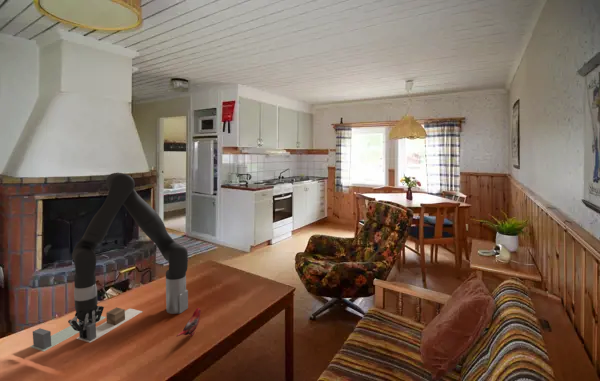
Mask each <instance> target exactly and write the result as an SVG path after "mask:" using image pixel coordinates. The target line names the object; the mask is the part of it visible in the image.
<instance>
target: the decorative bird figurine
mask: <svg viewBox="0 0 600 381" xmlns="http://www.w3.org/2000/svg"><path fill="white" fill-rule="evenodd" d="M201 311H202V310H201V308H199V307H197V308H196V309H195V310H194V311H193V313H192V316H191V317H190V319H189V320H188V321H187V323H186V325H185V326H184V328H183V330H182V331H181V332H179V333H178V334H177V335H176V337H180V336H189V337H188V338H191V337H193V336H194V334H195V332H196V329H197V328H198V326H199V322H200V319H201V314H202V313H201Z"/></svg>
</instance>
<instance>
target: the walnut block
mask: <svg viewBox="0 0 600 381" xmlns="http://www.w3.org/2000/svg"><path fill="white" fill-rule="evenodd" d="M125 311H126V310H125V308H121V307H114V308H112V309H111V310H109V311H107V312H106V313H105V314H106V316H105V317H106V321H107V323H108V324H112V325H117V324H119V323H120V322H122V321H124V320H125Z"/></svg>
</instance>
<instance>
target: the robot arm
mask: <svg viewBox="0 0 600 381" xmlns="http://www.w3.org/2000/svg"><path fill="white" fill-rule="evenodd" d="M105 185H106V188H107V190H108V194H107V196H106V199H105V201H104V202H103V204H102V206H101V207H100V208H99V209H98V210H97V212H96V213H95V214H94V216H93V217H92V218H91V220H90V222H89V224H88V226H87V227H86V229H85V231H84V234H83V236H82V237H81V238H80V240H79V241H78V242H77V243H76V245H75V246H74V248H73V251H72V253H71V259H72V260H73V262H74V268H75V272H74V276H73V283H74V290H73V298H74V299H73V300H74V309H75V313H74V317H73V318H71V319H68V320H67V321H68V324H69V326H72V328H73V329H74V330H76V331H80V337H81V338H83V339H85V338H87V331H86V324H87V323H88V322H91V323H94V324H96V325H97V323H99V322H100V321H99V320H100V318H101V316H103V315H102V314H103V311H104V308H105V306H102V305H98V287H97V280H96V278H97V277H96V276H97V275H96V268H97V255H96V253H95V250H96V248H97V246H98V245H99V244H101V243H102V242H103V241H104V239H105V238H106V235H107V233H108V231H109V229H110V227H111V225H112V223H113V221H114V220H115V218H116V216H117V214H118V213H119V211H120V209H121V208H122V207H123V206H124V208H126V211H127V212H128V213H129V215H130V216H131V218H132V220H134V222H135V223H136V225H137V226H138V227H139V228H140V229H141V231H142V232H144V234H145V235H146V236H147V237H148V238H149V239H150V240H151V241H152V243H154V245H155V246H156V247H157V248H158V250H159V251H160V253H161V255H162V257H163V258H164V260H166V261H167V262H168V269H167V270H166V272H165V304H166V306H165V307H166V312H167V313H168V314H171V315H173V314H174V315H175V314H182V313H183V312H185V311H186V310H188V308H189V290H188V289H187V271H188V266H189V264H188V261H189V260H188V259H189V254H188V250H187V248H186V247H185V246H183V245H181V244H179V243H177V241H175V239H173V237H172V236H170V235H169V233H168V231H167V228H166V226H165V224H164V221H163V219H162V218H161V217H160V215H159V214H158V213H157V211H156V210H155V209H154V208H153V207H152V206H151V205H150V204H149V203H148V202H146V200H144V199H143V198H142V197H141V196H140V194H138V193H137V191H136V189H135V186H136V184H135V179H134V178H133V177H132V176H131V175H129V174H127V173H122V172H113V173H110V174H109V175H108V176H107V177H106V178H105ZM97 315H98V317H97ZM98 321H99V322H98ZM96 322H97V323H96ZM77 323H79V325H78V324H77Z"/></svg>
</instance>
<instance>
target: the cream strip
mask: <svg viewBox="0 0 600 381" xmlns="http://www.w3.org/2000/svg"><path fill="white" fill-rule="evenodd" d="M141 313H142V314H143V311H142V310H138V309H134V308H128V309H126V310H125V320H124V321H122V322H120V323H119V324H117V325H112V324H108V323H107V320H106V321H104V322H103V323H101V324H99V325H97V323H96V324H94V323H91V322H88V323H87V324H86V331H87V338H85V339H83V338H81V337H80V331H79V333H78V334H79V336H78V337H76V339H77V340H80V341H84V342H86V343H90V344H91V343H93V342H94V341H96V340H97V339H99V338H101V337H103V336H104V335H105V334H108V333H109V332H111V331H113V330H114V329H116V328H118V327H119V326H121V325H122V324H125V323H126V322H128V321H130V320H131V319H133V318H134V317H136V316H137V315H140V314H141Z"/></svg>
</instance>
